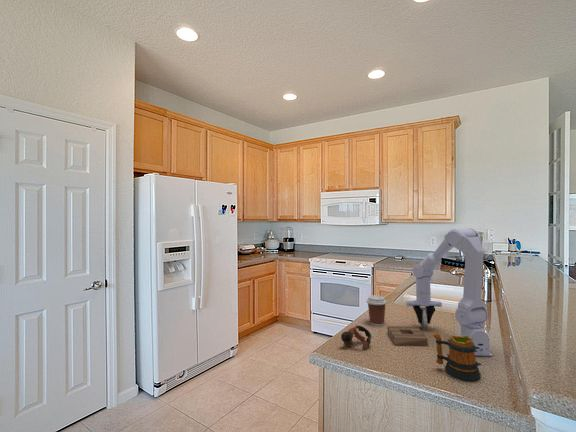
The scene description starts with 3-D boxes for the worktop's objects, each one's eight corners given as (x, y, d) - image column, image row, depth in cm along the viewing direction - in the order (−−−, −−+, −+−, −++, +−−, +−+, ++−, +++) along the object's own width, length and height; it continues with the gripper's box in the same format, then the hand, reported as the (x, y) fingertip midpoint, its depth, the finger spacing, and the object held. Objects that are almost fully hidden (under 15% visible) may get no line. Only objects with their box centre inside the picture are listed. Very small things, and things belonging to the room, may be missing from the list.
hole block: (427, 345, 111) (427, 337, 111) (395, 345, 112) (394, 337, 112) (417, 333, 122) (416, 326, 123) (387, 333, 124) (387, 325, 124)
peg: (429, 329, 126) (428, 309, 126) (421, 329, 127) (421, 308, 127) (426, 327, 129) (426, 306, 129) (419, 327, 130) (418, 306, 130)
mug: (479, 368, 93) (478, 332, 93) (484, 385, 84) (483, 345, 84) (433, 361, 99) (432, 326, 99) (434, 375, 90) (433, 338, 90)
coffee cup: (388, 321, 138) (388, 295, 138) (385, 327, 130) (385, 300, 130) (369, 318, 142) (368, 293, 142) (364, 324, 134) (364, 298, 134)
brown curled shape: (355, 339, 120) (364, 323, 117) (368, 358, 112) (378, 342, 109) (332, 337, 114) (341, 321, 112) (344, 357, 106) (355, 340, 104)
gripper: (436, 289, 131) (437, 320, 131) (403, 289, 133) (404, 319, 133) (443, 293, 124) (444, 325, 124) (408, 293, 126) (409, 325, 126)
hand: (424, 323), depth 128 cm, fingers closed on peg, 3 cm apart
